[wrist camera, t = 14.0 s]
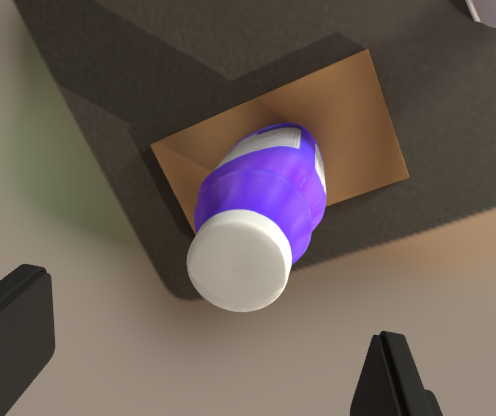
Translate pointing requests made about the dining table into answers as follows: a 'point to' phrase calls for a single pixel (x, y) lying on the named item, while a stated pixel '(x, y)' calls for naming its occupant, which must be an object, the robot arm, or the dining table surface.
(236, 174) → the bottle
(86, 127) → the dining table surface
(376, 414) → the robot arm
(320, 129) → the mat
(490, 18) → the cup
